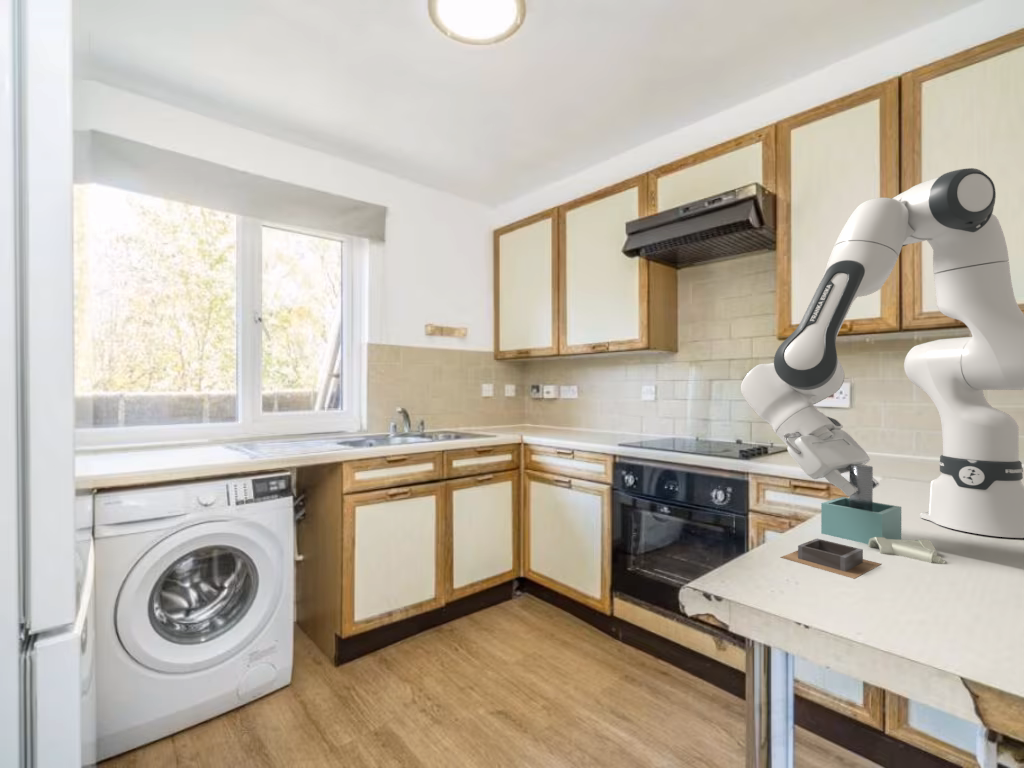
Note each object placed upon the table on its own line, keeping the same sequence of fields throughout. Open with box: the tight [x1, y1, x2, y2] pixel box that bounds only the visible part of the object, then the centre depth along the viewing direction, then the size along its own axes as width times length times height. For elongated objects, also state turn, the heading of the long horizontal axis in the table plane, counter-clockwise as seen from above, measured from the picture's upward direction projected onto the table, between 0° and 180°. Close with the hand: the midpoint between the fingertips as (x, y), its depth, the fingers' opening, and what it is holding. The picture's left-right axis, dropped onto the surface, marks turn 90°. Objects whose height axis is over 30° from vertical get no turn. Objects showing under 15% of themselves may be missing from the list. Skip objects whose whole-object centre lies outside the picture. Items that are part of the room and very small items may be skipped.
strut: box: [848, 464, 874, 512], centre depth 87 cm, size 4×4×13 cm
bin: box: [820, 496, 902, 545], centre depth 86 cm, size 9×9×7 cm
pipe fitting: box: [867, 537, 946, 565], centre depth 76 cm, size 8×4×7 cm
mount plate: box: [780, 538, 882, 579], centre depth 73 cm, size 10×10×4 cm
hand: (864, 490), depth 86 cm, fingers open, 8 cm apart
